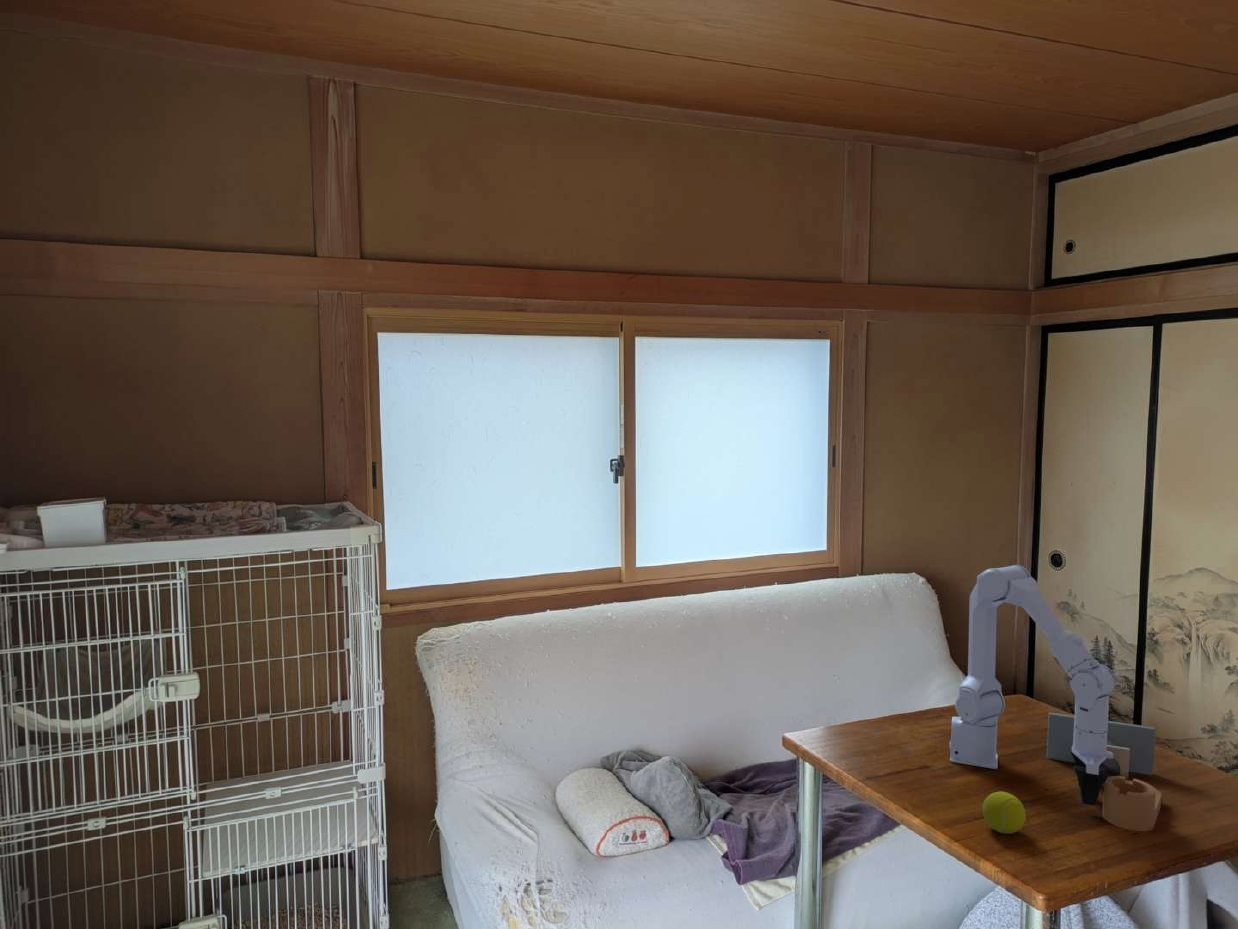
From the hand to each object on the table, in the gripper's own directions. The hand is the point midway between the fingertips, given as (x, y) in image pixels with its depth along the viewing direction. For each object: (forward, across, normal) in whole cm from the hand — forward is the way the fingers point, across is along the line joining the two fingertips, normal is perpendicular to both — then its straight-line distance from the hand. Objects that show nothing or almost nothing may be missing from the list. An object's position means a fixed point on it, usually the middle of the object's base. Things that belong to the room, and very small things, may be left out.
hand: (1086, 795), depth 166 cm
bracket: (+2, +1, -8) cm, 8 cm away
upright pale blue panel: (+2, +16, -4) cm, 17 cm away
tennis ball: (+2, -19, +15) cm, 24 cm away
